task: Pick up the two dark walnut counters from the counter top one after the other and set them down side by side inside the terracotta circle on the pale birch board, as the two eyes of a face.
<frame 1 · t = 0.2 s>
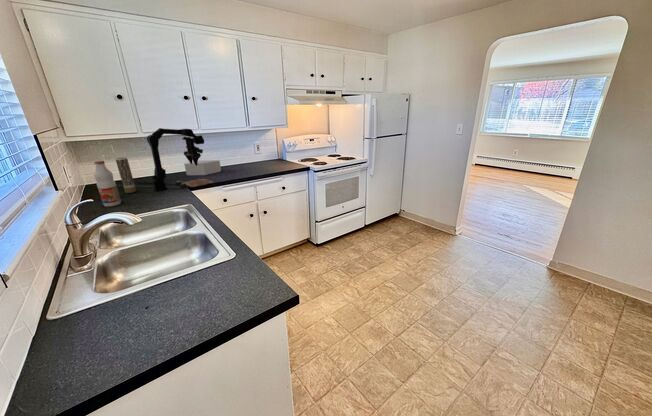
hand: (194, 164, 217), 14 cm above the worktop, tool pointing down, fingers open, 9 cm apart
left eye: (179, 185, 213), on the worktop
fruit juice: (112, 204, 173), on the worktop
face board: (198, 182, 219), on the worktop
paper tube: (131, 192, 197), on the worktop
block: (204, 173, 250), on the worktop
right eye: (183, 187, 208), on the worktop
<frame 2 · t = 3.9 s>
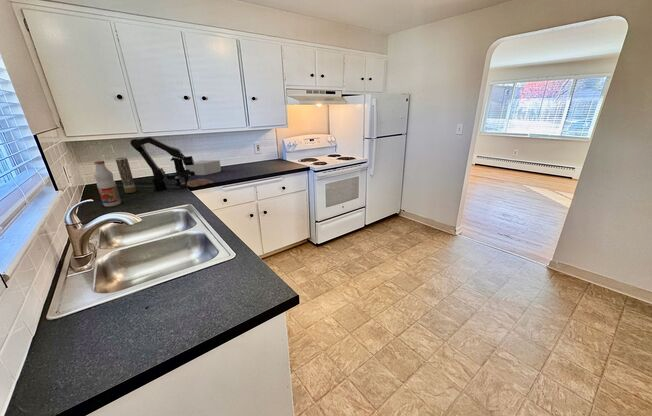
hand: (183, 185, 207), 1 cm above the worktop, tool pointing down, fingers closed on right eye, 4 cm apart
right eye: (183, 187, 208), on the worktop, touching gripper
everything else where it was.
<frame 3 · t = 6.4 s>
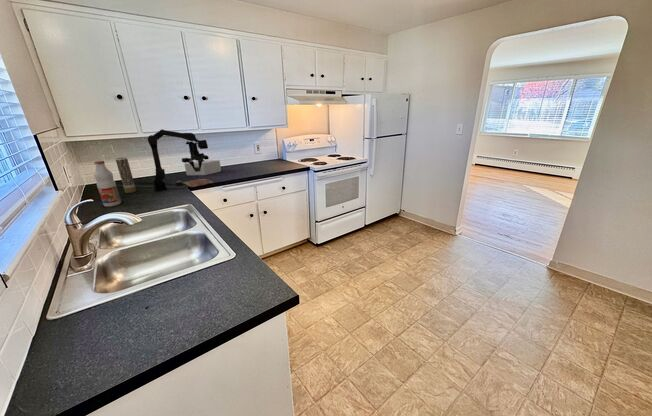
hand: (197, 169, 212), 12 cm above the worktop, tool pointing down, fingers closed on right eye, 4 cm apart
right eye: (197, 171, 212), point 11 cm above the worktop, touching gripper
everything else where it was.
when the fingers open (2 cm above the worktop, at t = 9.0 s): right eye stays where it is, resting on face board.
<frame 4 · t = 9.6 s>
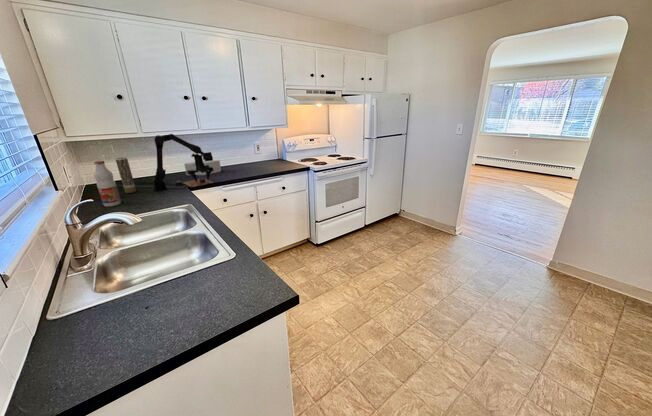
hand: (202, 180, 217), 2 cm above the worktop, tool pointing down, fingers open, 9 cm apart
right eye: (202, 182, 217), point 1 cm above the worktop, touching face board
everything else where it was.
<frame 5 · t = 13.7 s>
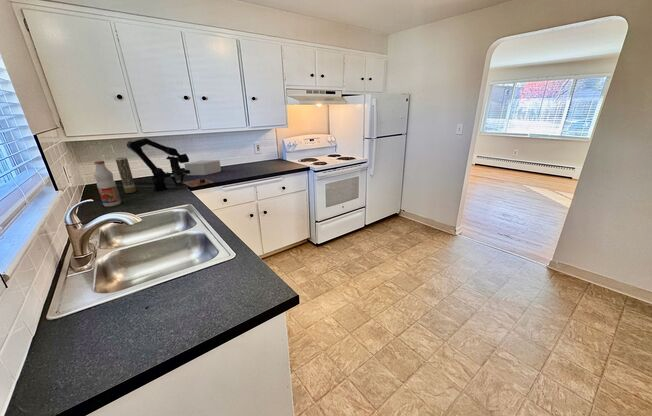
hand: (179, 183, 213), 1 cm above the worktop, tool pointing down, fingers closed on left eye, 4 cm apart
left eye: (179, 185, 213), on the worktop, touching gripper
everything else where it was.
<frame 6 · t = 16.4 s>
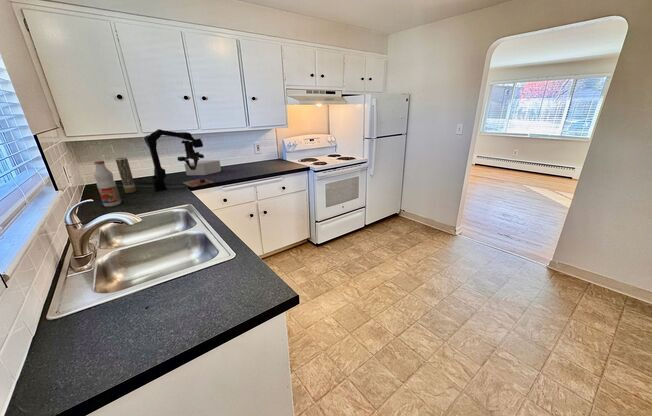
hand: (193, 168, 217), 12 cm above the worktop, tool pointing down, fingers closed on left eye, 4 cm apart
left eye: (193, 169, 217), point 11 cm above the worktop, touching gripper
everything else where it was.
when the fingers open (2 cm above the worktop, at t = 19.0 s): left eye stays where it is, resting on face board.
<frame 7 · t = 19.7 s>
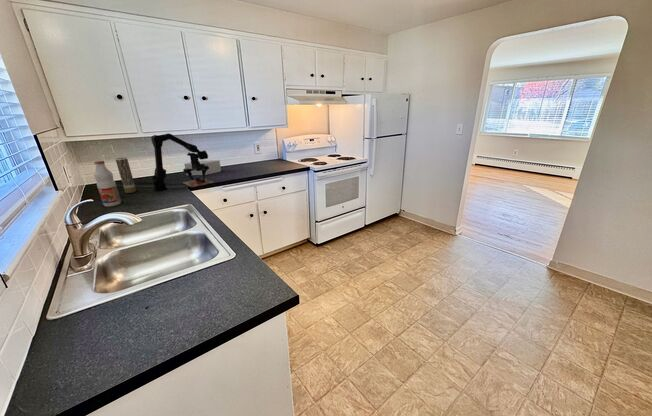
hand: (198, 179, 222), 2 cm above the worktop, tool pointing down, fingers open, 9 cm apart
left eye: (198, 180, 223), point 1 cm above the worktop, touching face board
everything else where it was.
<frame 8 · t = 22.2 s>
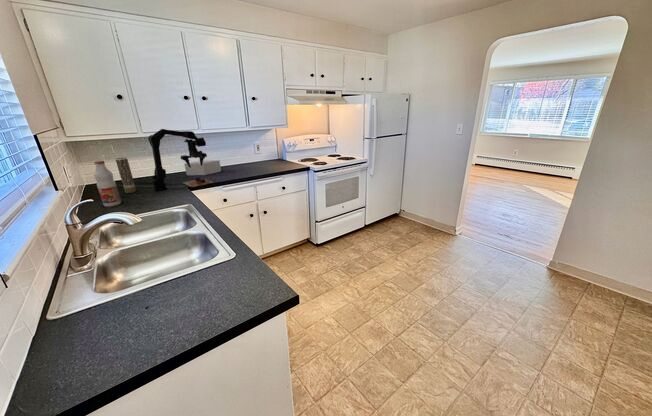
hand: (195, 166, 218), 12 cm above the worktop, tool pointing down, fingers open, 9 cm apart
nothing on the worktop moved.
at the end: right eye 0.2 cm from the target spot on the face board, point 0.8 cm above the face board's base; left eye 0.2 cm from the target spot on the face board, point 0.8 cm above the face board's base; left eye tilted 0° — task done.
